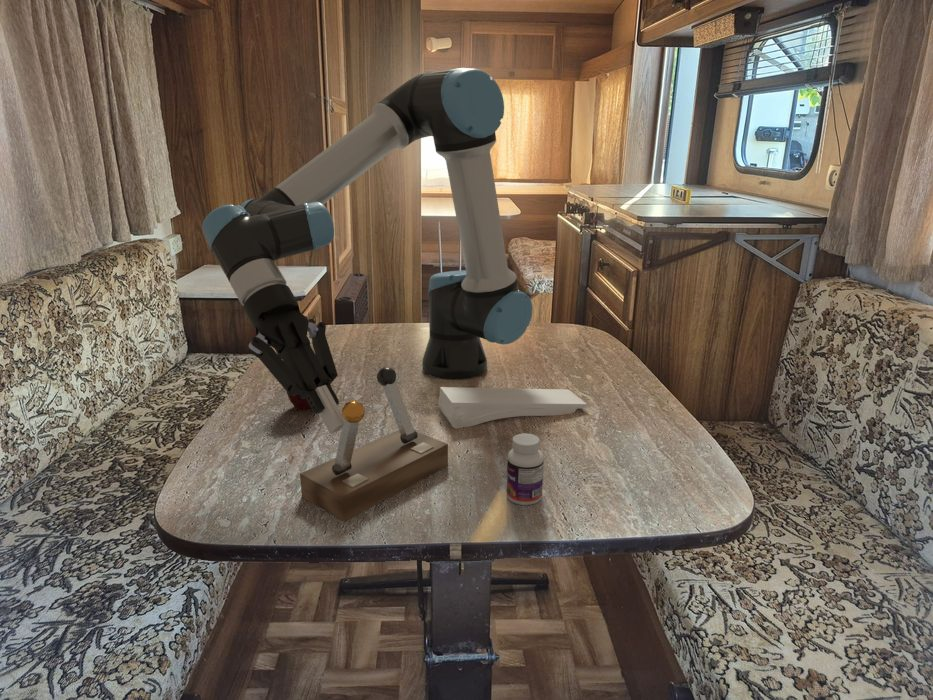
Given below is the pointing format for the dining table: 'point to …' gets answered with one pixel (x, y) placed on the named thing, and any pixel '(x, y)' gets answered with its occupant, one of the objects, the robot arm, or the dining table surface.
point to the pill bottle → (525, 470)
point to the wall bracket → (503, 403)
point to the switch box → (373, 474)
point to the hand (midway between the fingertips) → (338, 428)
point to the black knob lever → (396, 404)
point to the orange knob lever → (348, 436)
